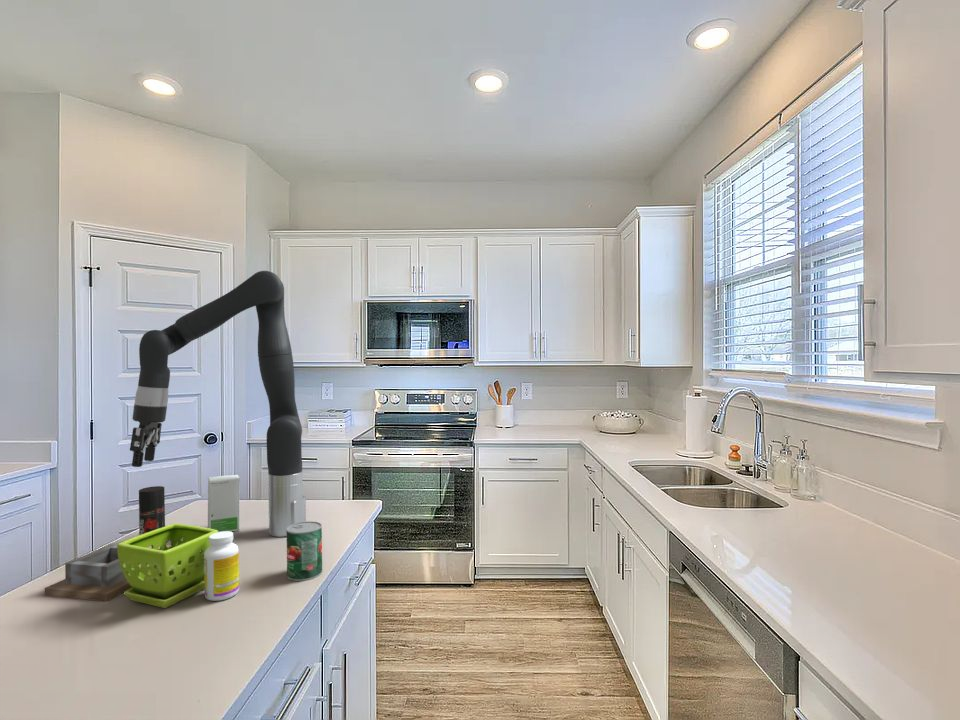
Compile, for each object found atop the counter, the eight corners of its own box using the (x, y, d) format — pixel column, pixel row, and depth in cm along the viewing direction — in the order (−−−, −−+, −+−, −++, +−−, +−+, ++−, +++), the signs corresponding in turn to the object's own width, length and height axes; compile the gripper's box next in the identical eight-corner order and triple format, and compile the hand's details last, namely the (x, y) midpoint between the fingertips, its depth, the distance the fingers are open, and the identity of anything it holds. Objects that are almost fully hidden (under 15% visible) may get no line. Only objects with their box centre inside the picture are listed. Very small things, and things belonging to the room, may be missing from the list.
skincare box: (208, 536, 145) (207, 481, 145) (207, 529, 150) (206, 476, 150) (240, 530, 149) (240, 477, 149) (238, 524, 155) (238, 473, 154)
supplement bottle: (246, 590, 111) (245, 531, 111) (221, 604, 104) (220, 541, 104) (222, 585, 113) (221, 528, 113) (197, 599, 107) (196, 538, 107)
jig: (187, 559, 128) (186, 535, 128) (106, 601, 106) (106, 572, 106) (133, 555, 131) (133, 532, 131) (44, 594, 110) (44, 567, 109)
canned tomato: (329, 570, 121) (329, 523, 121) (305, 583, 114) (304, 534, 114) (304, 564, 124) (303, 519, 124) (279, 577, 117) (278, 529, 117)
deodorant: (170, 540, 142) (169, 486, 142) (154, 548, 136) (153, 492, 136) (150, 539, 143) (149, 486, 142) (134, 547, 137) (133, 491, 137)
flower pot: (114, 604, 105) (113, 543, 105) (176, 577, 118) (175, 522, 118) (164, 616, 100) (163, 551, 100) (222, 585, 113) (221, 528, 113)
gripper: (157, 407, 132) (149, 469, 131) (174, 403, 146) (167, 459, 145) (124, 404, 130) (115, 468, 129) (145, 400, 144) (137, 458, 143)
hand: (143, 463), depth 137 cm, fingers open, 8 cm apart
